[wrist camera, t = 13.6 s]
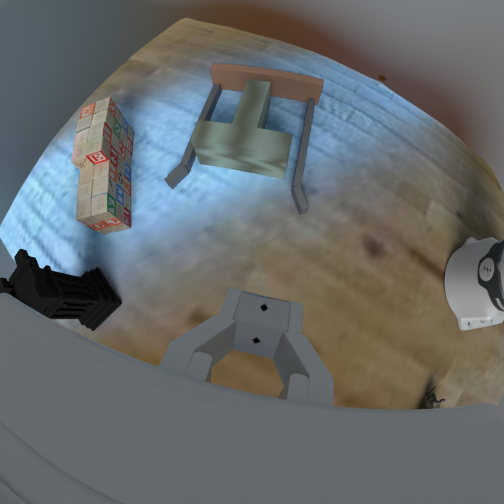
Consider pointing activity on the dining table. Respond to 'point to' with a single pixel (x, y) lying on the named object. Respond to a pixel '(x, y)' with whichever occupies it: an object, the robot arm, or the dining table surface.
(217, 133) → the T block
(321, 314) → the dining table surface
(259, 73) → the bay
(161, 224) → the dining table surface
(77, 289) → the chess piece
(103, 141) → the stack of blocks
